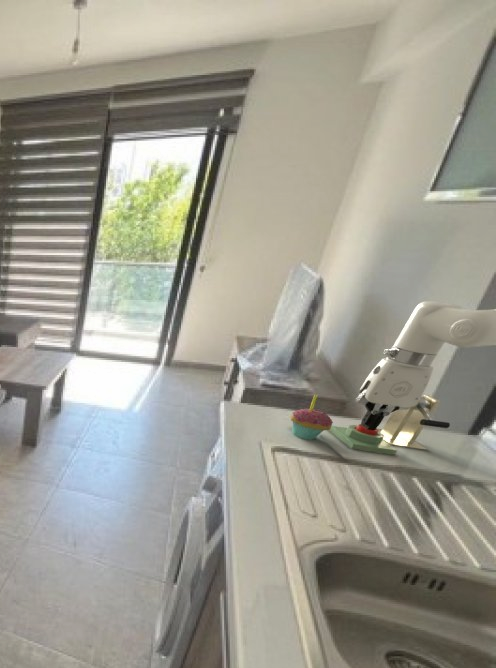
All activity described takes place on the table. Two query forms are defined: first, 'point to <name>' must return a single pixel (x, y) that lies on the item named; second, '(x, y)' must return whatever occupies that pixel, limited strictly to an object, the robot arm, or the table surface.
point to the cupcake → (310, 422)
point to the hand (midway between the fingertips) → (367, 427)
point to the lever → (429, 415)
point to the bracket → (407, 425)
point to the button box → (362, 440)
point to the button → (366, 430)
